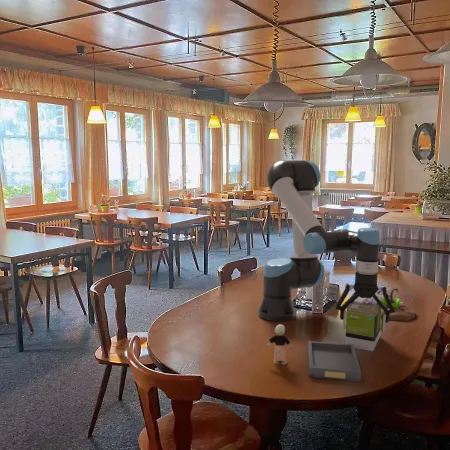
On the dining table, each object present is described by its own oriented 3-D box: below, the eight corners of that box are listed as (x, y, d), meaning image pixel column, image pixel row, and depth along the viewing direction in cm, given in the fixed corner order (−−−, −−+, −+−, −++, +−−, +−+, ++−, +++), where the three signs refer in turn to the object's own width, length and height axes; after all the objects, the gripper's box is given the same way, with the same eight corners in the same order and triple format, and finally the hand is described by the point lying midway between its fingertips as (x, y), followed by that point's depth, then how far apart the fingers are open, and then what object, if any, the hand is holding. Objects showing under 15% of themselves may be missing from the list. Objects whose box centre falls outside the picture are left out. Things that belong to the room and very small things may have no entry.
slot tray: (309, 377, 135) (309, 368, 134) (308, 349, 154) (308, 341, 154) (360, 382, 132) (361, 372, 132) (352, 352, 152) (353, 344, 152)
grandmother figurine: (290, 360, 146) (291, 322, 144) (291, 365, 142) (292, 327, 140) (266, 359, 146) (267, 322, 144) (267, 364, 142) (268, 326, 141)
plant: (416, 324, 181) (419, 297, 179) (366, 318, 187) (367, 292, 185) (413, 308, 200) (414, 284, 198) (367, 303, 206) (368, 280, 204)
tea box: (353, 332, 171) (355, 294, 169) (380, 337, 166) (383, 298, 164) (344, 346, 158) (346, 305, 155) (373, 352, 153) (376, 310, 151)
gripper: (331, 272, 157) (328, 330, 160) (406, 276, 153) (401, 335, 156) (329, 267, 164) (327, 323, 167) (401, 271, 160) (397, 328, 163)
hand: (363, 329), depth 161 cm, fingers open, 13 cm apart
